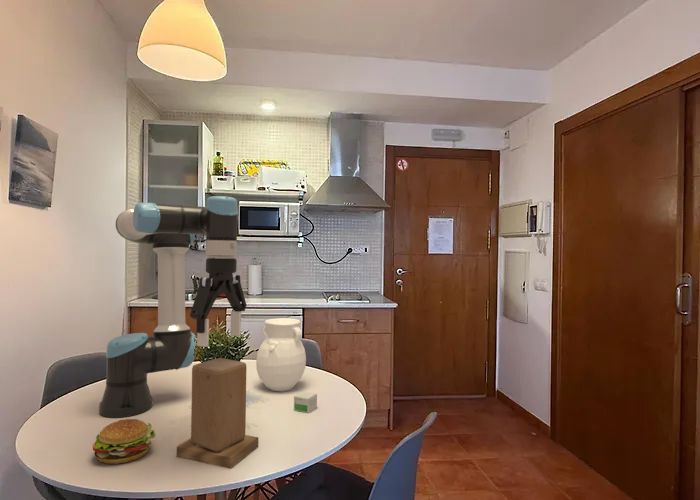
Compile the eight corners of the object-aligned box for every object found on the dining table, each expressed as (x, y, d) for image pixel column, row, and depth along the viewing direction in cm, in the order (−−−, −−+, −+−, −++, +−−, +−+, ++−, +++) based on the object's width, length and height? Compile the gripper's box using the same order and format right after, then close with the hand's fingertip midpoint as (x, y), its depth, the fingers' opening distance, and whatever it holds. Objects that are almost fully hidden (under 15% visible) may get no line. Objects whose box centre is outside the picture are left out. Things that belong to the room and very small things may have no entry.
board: (176, 456, 108) (176, 446, 108) (207, 437, 120) (207, 427, 119) (231, 468, 103) (231, 457, 103) (258, 446, 114) (258, 436, 114)
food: (149, 464, 104) (150, 431, 104) (84, 469, 101) (85, 435, 101) (161, 439, 118) (162, 410, 118) (104, 443, 115) (105, 413, 115)
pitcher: (315, 385, 166) (316, 319, 166) (283, 398, 151) (284, 326, 151) (278, 376, 176) (279, 315, 176) (245, 388, 161) (246, 321, 161)
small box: (293, 410, 140) (293, 395, 140) (302, 405, 145) (302, 390, 145) (308, 413, 138) (308, 398, 138) (317, 408, 143) (317, 393, 143)
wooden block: (217, 454, 104) (218, 370, 104) (189, 444, 109) (190, 364, 109) (246, 438, 113) (248, 361, 113) (219, 430, 118) (220, 356, 118)
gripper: (201, 258, 98) (200, 352, 98) (260, 257, 122) (258, 333, 122) (174, 257, 101) (173, 349, 101) (236, 256, 124) (235, 330, 124)
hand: (220, 340), depth 111 cm, fingers open, 13 cm apart
